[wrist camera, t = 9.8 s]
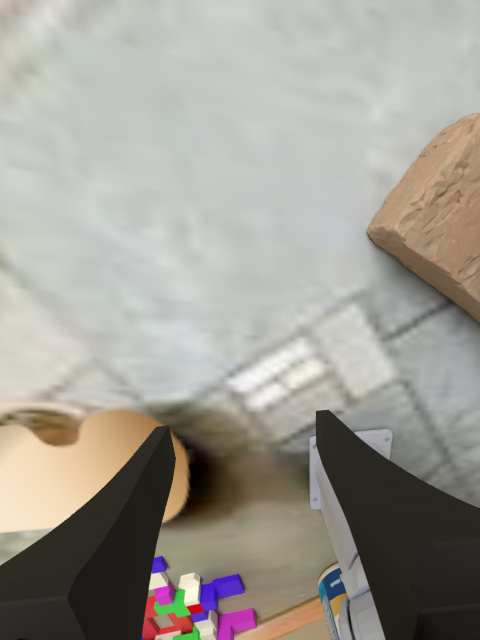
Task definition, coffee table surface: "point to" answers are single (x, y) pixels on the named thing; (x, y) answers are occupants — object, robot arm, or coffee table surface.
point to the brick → (439, 215)
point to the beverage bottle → (332, 597)
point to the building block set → (193, 607)
